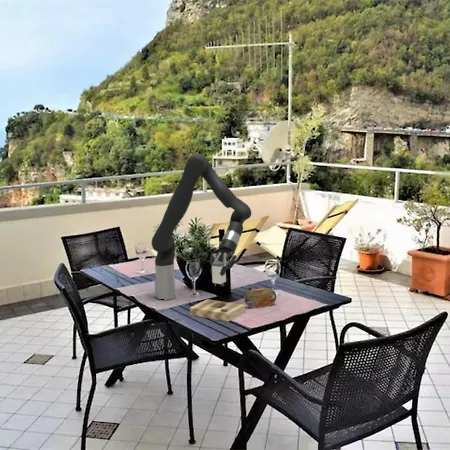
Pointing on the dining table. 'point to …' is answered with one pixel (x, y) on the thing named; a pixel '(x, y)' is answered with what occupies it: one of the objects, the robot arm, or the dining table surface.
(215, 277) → the plug
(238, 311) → the socket board
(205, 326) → the dining table surface
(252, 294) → the tin
